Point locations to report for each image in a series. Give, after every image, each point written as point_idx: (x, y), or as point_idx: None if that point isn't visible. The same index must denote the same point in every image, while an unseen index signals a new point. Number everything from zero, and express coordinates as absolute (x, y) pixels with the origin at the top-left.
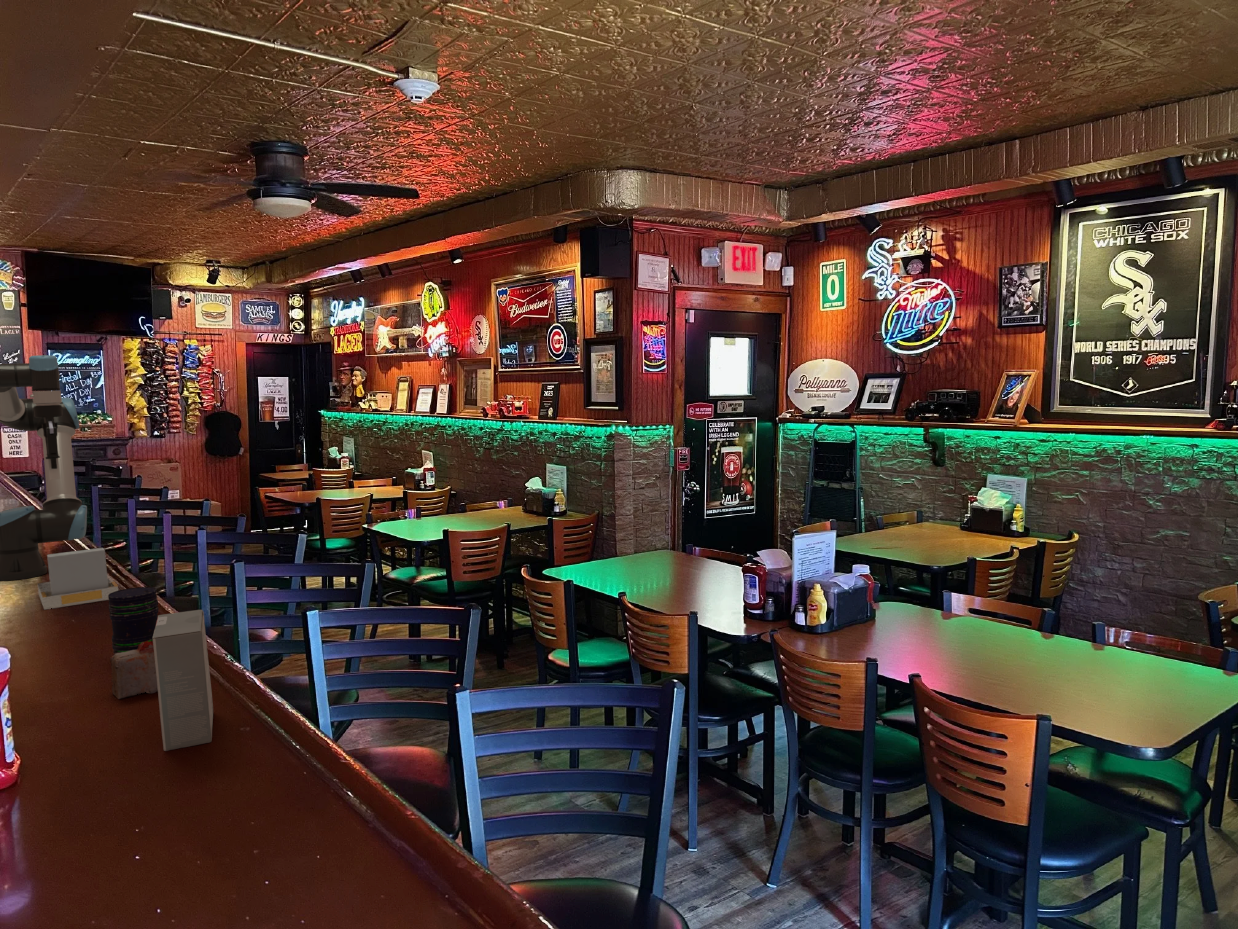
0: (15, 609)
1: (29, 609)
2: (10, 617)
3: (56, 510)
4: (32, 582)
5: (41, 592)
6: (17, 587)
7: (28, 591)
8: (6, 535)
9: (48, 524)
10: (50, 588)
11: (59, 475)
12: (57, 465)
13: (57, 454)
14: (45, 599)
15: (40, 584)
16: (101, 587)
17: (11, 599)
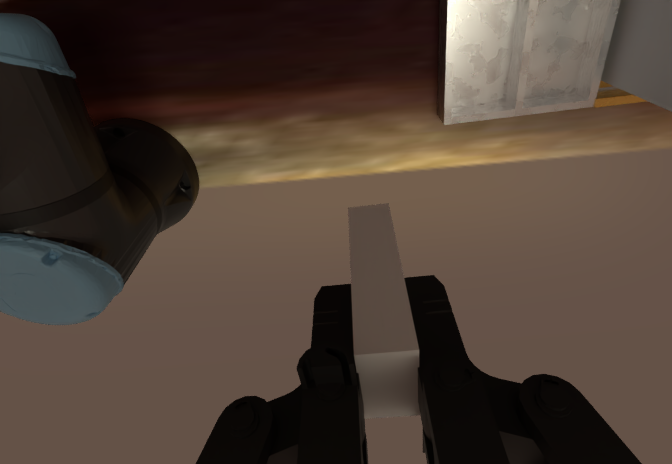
0: (571, 147)
1: (604, 120)
2: (651, 149)
3: (4, 152)
4: (249, 141)
5: (599, 105)
6: (297, 166)
7: (370, 140)
8: (138, 256)
9: (83, 160)
10: (617, 86)
11: (391, 221)
12: (406, 292)
13: (585, 407)
14: None
15: (465, 116)
16: None
17: (443, 165)
